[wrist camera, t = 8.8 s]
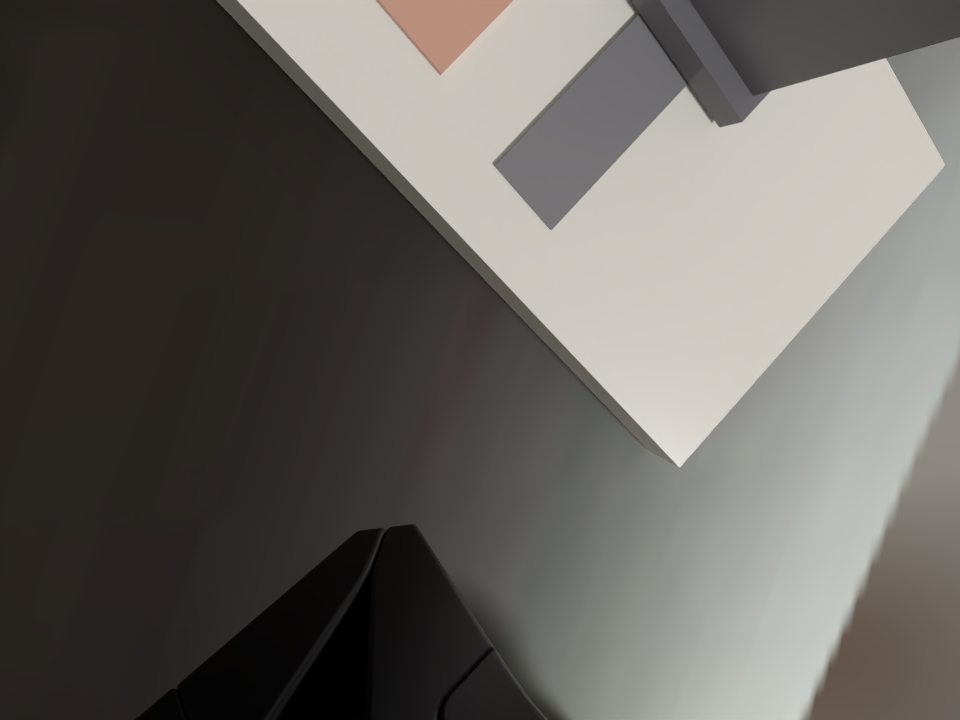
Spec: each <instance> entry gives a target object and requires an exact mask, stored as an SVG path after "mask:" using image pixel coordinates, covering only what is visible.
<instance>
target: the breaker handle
mask: <svg viewBox="0 0 960 720" xmlns="http://www.w3.org/2000/svg"><path fill="white" fill-rule="evenodd" d="M631 1H632V3H633V4H634V6H635V7H636V9H637V10H638V11H639V13H640V14H641V16H642V17H643V19H644V20H645V22H646V23H647V24H648V26H649V27H650V29H651V30H652V32H653V33H654V34H655V36H656V37H657V39H658V40H659V42H660V43H661V44H662V46H663V47H664V49H665V50H666V52H667V53H668V54H669V56H670V57H671V59H672V60H673V62H674V63H675V65H676V66H677V67H678V69H679V70H680V72H681V73H682V75H683V76H684V77H685V79H686V80H687V82H688V83H689V85H690V86H691V87H692V89H693V90H694V92H695V93H696V95H697V96H698V97H699V99H700V100H701V102H702V103H703V105H704V106H705V107H706V109H707V110H708V112H709V113H710V115H711V116H712V118H713V119H714V120H715V122H716V123H717V125H718V126H719V127H724V126H728V125H732V124H736V123H740V122H743V121H744V120H745V119H746V118H747V117H748V115H749V114H750V113H751V112H752V111H753V110H754V109H755V108H756V107H757V106H758V105H759V103H760V102H761V101H762V100H763V99H764V98H765V97H766V96H767V95H768V94H769V93H770V91H772V90H776V89H779V88H783V87H786V86H790V85H793V84H797V83H800V82H804V81H807V80H811V79H814V78H818V77H821V76H825V75H828V74H832V73H835V72H839V71H842V70H846V69H849V68H853V67H856V66H860V65H863V64H867V63H870V62H874V61H877V60H881V59H884V58H888V57H891V56H895V55H898V54H902V53H905V52H909V51H912V50H916V49H919V48H923V47H926V46H930V45H933V44H937V43H940V42H944V41H947V40H951V39H954V38H958V37H960V0H631Z"/></svg>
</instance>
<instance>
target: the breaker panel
mask: <svg viewBox="0 0 960 720" xmlns="http://www.w3.org/2000/svg"><path fill="white" fill-rule="evenodd" d="M216 1H217V2H218V3H219V4H220V5H221V6H222V7H223V8H224V9H225V10H226V11H227V12H228V13H229V14H230V15H231V16H232V17H233V18H234V19H235V20H236V21H237V22H238V24H239V25H240V26H241V27H242V28H243V29H244V30H245V31H246V32H247V33H248V34H249V35H250V36H251V37H252V38H253V39H254V40H255V41H256V42H257V43H258V44H259V45H260V46H261V47H262V49H263V50H264V51H265V52H266V53H267V54H268V55H269V56H270V57H271V58H272V59H273V60H274V61H275V62H276V63H277V64H278V65H279V66H280V67H281V68H282V69H283V70H284V71H285V73H286V74H287V75H288V76H289V77H290V78H291V79H292V80H293V81H294V82H295V83H296V84H297V85H298V86H299V87H300V88H301V89H302V90H303V91H304V92H305V93H306V94H307V95H308V96H309V98H310V99H311V100H312V101H313V102H314V103H315V104H316V105H317V106H318V107H319V108H320V109H321V110H322V111H323V112H324V113H325V114H326V115H327V116H328V117H329V118H330V119H331V120H332V121H333V123H334V124H335V125H336V126H337V127H338V128H339V129H340V130H341V131H342V132H343V133H344V134H345V135H346V136H347V137H348V138H349V139H350V140H351V141H352V142H353V143H354V144H355V145H356V146H357V148H358V149H359V150H360V151H361V152H362V153H363V154H364V155H365V156H366V157H367V158H368V159H369V160H370V161H371V162H372V163H373V164H374V165H375V166H376V167H377V168H378V169H379V170H380V171H381V173H382V174H383V175H384V176H385V177H386V178H387V179H388V180H389V181H390V182H391V183H392V184H393V185H394V186H395V187H396V188H397V189H398V190H399V191H400V192H401V193H402V194H403V195H404V196H405V198H406V199H407V200H408V201H409V202H410V203H411V204H412V205H413V206H414V207H415V208H416V209H417V210H418V211H419V212H420V213H421V214H422V215H423V216H424V217H425V218H426V219H427V220H428V221H429V223H430V224H431V225H432V226H433V227H434V228H435V229H436V230H437V231H438V232H439V233H440V234H441V235H442V236H443V237H444V238H445V239H446V240H447V241H448V242H449V243H450V244H451V245H452V247H453V248H454V249H455V250H456V251H457V252H458V253H459V254H460V255H461V256H462V257H463V258H464V259H465V260H466V261H467V262H468V263H469V264H470V265H471V266H472V267H473V268H474V269H475V270H476V272H477V273H478V274H479V275H480V276H481V277H482V278H483V279H484V280H485V281H486V282H487V283H488V284H489V285H490V286H491V287H492V288H493V289H494V290H495V291H496V292H497V293H498V294H499V295H500V297H501V298H502V299H503V300H504V301H505V302H506V303H507V304H508V305H509V306H510V307H511V308H512V309H513V310H514V311H515V312H516V313H517V314H518V315H519V316H520V317H521V318H522V319H523V320H524V322H525V323H526V324H527V325H528V326H529V327H530V328H531V329H532V330H533V331H534V332H535V333H536V334H537V335H538V336H539V337H540V338H541V339H542V340H543V341H544V342H545V343H546V344H547V345H548V347H549V348H550V349H551V350H552V351H553V352H554V353H555V354H556V355H557V356H558V357H559V358H560V359H561V360H562V361H563V362H564V363H565V364H566V365H567V366H568V367H569V368H570V369H571V370H572V372H573V373H574V374H575V375H576V376H577V377H578V378H579V379H580V380H581V381H582V382H583V383H584V384H585V385H586V386H587V387H588V388H589V389H590V390H591V391H592V392H593V393H594V394H595V396H596V397H597V398H598V399H599V400H600V401H601V402H602V403H603V404H604V405H605V406H606V407H607V408H608V409H609V410H610V411H611V412H612V413H613V414H614V415H615V416H616V417H617V418H618V419H619V421H620V422H621V423H622V424H623V425H624V426H625V427H626V428H627V429H628V430H629V431H630V432H631V433H632V434H633V435H634V436H635V437H636V438H637V439H638V440H639V441H640V442H641V443H642V444H643V446H644V447H645V448H646V449H648V450H650V451H651V452H653V453H655V454H657V455H658V456H660V457H662V458H664V459H665V460H667V461H669V462H670V463H672V464H674V465H676V466H677V467H679V468H680V467H681V466H682V464H683V463H684V462H685V461H686V460H687V459H688V458H689V456H690V455H691V454H692V453H693V452H694V451H695V450H696V448H697V447H698V446H699V445H700V444H701V443H702V442H703V440H704V439H705V438H706V437H707V436H708V435H709V434H710V432H711V431H712V430H713V429H714V428H715V427H716V426H717V425H718V423H719V422H720V421H721V420H722V419H723V418H724V417H725V415H726V414H727V413H728V412H729V411H730V410H731V409H732V407H733V406H734V405H735V404H736V403H737V402H738V401H739V399H740V398H741V397H742V396H743V395H744V394H745V393H746V392H747V390H748V389H749V388H750V387H751V386H752V385H753V384H754V382H755V381H756V380H757V379H758V378H759V377H760V376H761V374H762V373H763V372H764V371H765V370H766V369H767V368H768V366H769V365H770V364H771V363H772V362H773V361H774V360H775V358H776V357H777V356H778V355H779V354H780V353H781V352H782V351H783V349H784V348H785V347H786V346H787V345H788V344H789V343H790V341H791V340H792V339H793V338H794V337H795V336H796V335H797V333H798V332H799V331H800V330H801V329H802V328H803V327H804V325H805V324H806V323H807V322H808V321H809V320H810V319H811V317H812V316H813V315H814V314H815V313H816V312H817V311H818V310H819V308H820V307H821V306H822V305H823V304H824V303H825V302H826V300H827V299H828V298H829V297H830V296H831V295H832V294H833V292H834V291H835V290H836V289H837V288H838V287H839V286H840V284H841V283H842V282H843V281H844V280H845V279H846V278H847V277H848V275H849V274H850V273H851V272H852V271H853V270H854V269H855V267H856V266H857V265H858V264H859V263H860V262H861V261H862V259H863V258H864V257H865V256H866V255H867V254H868V253H869V251H870V250H871V249H872V248H873V247H874V246H875V245H876V243H877V242H878V241H879V240H880V239H881V238H882V237H883V236H884V234H885V233H886V232H887V231H888V230H889V229H890V228H891V226H892V225H893V224H894V223H895V222H896V221H897V220H898V218H899V217H900V216H901V215H902V214H903V213H904V212H905V210H906V209H907V208H908V207H909V206H910V205H911V204H912V203H913V201H914V200H915V199H916V198H917V197H918V196H919V195H920V193H921V192H922V191H923V190H924V189H925V188H926V187H927V185H928V184H929V183H930V182H931V181H932V180H933V179H934V177H935V176H936V175H937V174H938V173H939V172H940V171H941V169H942V168H943V167H944V166H945V164H944V162H943V160H942V158H941V156H940V155H939V153H938V151H937V149H936V147H935V146H934V144H933V142H932V140H931V138H930V137H929V135H928V133H927V131H926V130H925V128H924V126H923V124H922V122H921V121H920V119H919V117H918V115H917V113H916V112H915V110H914V108H913V106H912V104H911V103H910V101H909V99H908V97H907V95H906V94H905V92H904V90H903V88H902V86H901V85H900V83H899V81H898V79H897V77H896V76H895V74H894V72H893V70H892V69H891V67H890V65H889V63H888V61H887V60H886V58H884V59H881V60H877V61H874V62H870V63H867V64H863V65H860V66H856V67H853V68H849V69H846V70H842V71H839V72H835V73H832V74H828V75H825V76H821V77H818V78H814V79H811V80H807V81H804V82H800V83H797V84H793V85H790V86H786V87H783V88H779V89H776V90H772V91H770V93H769V94H768V95H767V96H766V97H765V98H764V99H763V100H762V101H761V102H760V103H759V105H758V106H757V107H756V108H755V109H754V110H753V111H752V112H751V113H750V114H749V115H748V117H747V118H746V119H745V120H744V121H743V122H740V123H736V124H732V125H728V126H724V127H719V126H718V125H717V123H716V122H715V120H714V119H713V118H712V116H711V115H710V113H709V112H708V110H707V109H706V107H705V106H704V105H703V103H702V102H701V100H700V99H699V97H698V96H697V95H696V93H695V92H694V90H693V89H692V87H691V86H690V85H689V83H688V82H687V80H686V79H685V77H684V76H683V75H682V73H681V72H680V70H679V69H678V67H677V66H676V65H675V63H674V62H673V60H672V59H671V57H670V56H669V54H668V53H667V52H666V50H665V49H664V47H663V46H662V44H661V43H660V42H659V40H658V39H657V37H656V36H655V34H654V33H653V32H652V30H651V29H650V27H649V26H648V24H647V23H646V22H645V20H644V19H643V17H642V16H641V14H640V13H639V11H638V10H637V9H636V7H635V6H634V4H633V3H632V1H631V0H216Z"/></svg>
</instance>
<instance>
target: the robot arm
mask: <svg viewBox="0 0 960 720" xmlns="http://www.w3.org/2000/svg"><path fill="white" fill-rule="evenodd" d="M177 690H178V691H177ZM177 690H176V689H171V690H169V691H168V692H167V693H166V694H165V695H164V696H162V697H161V698H160V699H159V700H158V701H157V702H155V703H154V704H153V705H152V706H151V707H150V708H148V709H147V710H146V711H145V712H144V713H142V714H141V715H140V716H139V717H138V718H136V719H135V720H548V719H547V718H546V717H545V716H544V714H543V713H542V712H541V711H540V710H539V709H538V707H537V706H536V705H535V704H534V703H533V701H532V700H531V699H530V698H529V696H528V695H527V693H526V692H525V690H524V689H523V688H522V686H521V685H520V683H519V682H518V681H517V679H516V678H515V676H514V675H513V674H512V672H511V671H510V669H509V668H508V666H507V665H506V663H505V662H504V660H503V658H502V657H501V655H500V654H499V652H498V651H496V649H495V647H494V646H493V644H492V643H491V641H490V639H489V638H488V636H487V635H486V633H485V632H484V630H483V629H482V627H481V625H480V624H479V622H478V621H477V619H476V618H475V616H474V614H473V613H472V611H471V610H470V608H469V607H468V605H467V603H466V602H465V600H464V599H463V597H462V596H461V594H460V593H459V591H458V589H457V588H456V586H455V585H454V583H453V582H452V580H451V578H450V577H449V575H448V574H447V572H446V571H445V569H444V567H443V566H442V564H441V563H440V561H439V560H438V558H437V557H436V555H435V553H434V552H433V550H432V549H431V547H430V546H429V544H428V542H427V541H426V539H425V538H424V536H423V535H422V533H421V531H420V530H419V528H418V527H417V526H416V525H414V524H411V525H403V526H395V527H390V528H389V529H388V530H387V531H386V530H385V529H383V528H378V529H369V530H360V531H358V532H356V533H355V534H353V535H352V536H351V537H350V538H349V539H348V540H346V541H345V542H344V543H343V544H342V545H341V546H339V547H338V548H337V549H336V550H335V551H334V552H332V553H331V554H330V555H329V556H328V557H326V558H325V559H324V560H323V561H322V562H321V563H319V564H318V565H317V566H316V567H315V568H314V569H312V570H311V571H310V572H309V573H308V574H307V575H305V576H304V577H303V578H302V579H301V580H300V581H298V582H297V583H296V584H295V585H294V586H293V587H291V588H290V589H289V590H288V591H287V592H286V593H284V594H283V595H282V596H281V597H280V598H279V599H277V600H276V601H275V602H274V603H273V604H272V605H270V606H269V607H268V608H267V609H266V610H265V611H263V612H262V613H261V614H260V615H259V616H258V617H256V618H255V619H254V620H253V621H252V622H251V623H249V624H248V625H247V626H246V627H245V628H244V629H242V630H241V631H240V632H239V633H238V634H237V635H235V636H234V637H233V638H232V639H231V640H230V641H228V642H227V643H226V644H225V645H224V646H223V647H221V648H220V649H219V650H218V651H217V652H216V653H214V654H213V655H212V656H211V657H210V658H209V659H207V660H206V661H205V662H204V663H203V664H202V665H200V666H199V667H198V668H197V669H196V670H195V671H193V672H192V673H191V674H190V675H189V676H187V677H186V678H185V679H184V680H183V681H182V682H180V683H179V684H178V686H177Z"/></svg>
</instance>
